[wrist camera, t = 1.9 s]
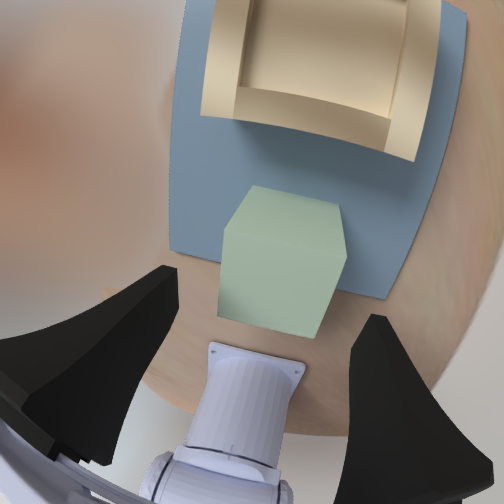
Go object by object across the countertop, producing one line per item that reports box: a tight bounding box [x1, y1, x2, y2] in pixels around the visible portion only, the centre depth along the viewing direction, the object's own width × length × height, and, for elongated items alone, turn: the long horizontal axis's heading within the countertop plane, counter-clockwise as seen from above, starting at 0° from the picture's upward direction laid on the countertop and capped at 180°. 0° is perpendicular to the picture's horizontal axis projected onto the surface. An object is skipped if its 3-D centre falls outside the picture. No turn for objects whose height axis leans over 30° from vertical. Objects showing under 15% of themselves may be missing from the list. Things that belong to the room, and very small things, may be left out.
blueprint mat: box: [169, 0, 467, 300], centre depth 12 cm, size 18×14×1 cm
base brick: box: [200, 0, 441, 162], centre depth 8 cm, size 8×8×4 cm
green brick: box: [217, 186, 347, 339], centre depth 13 cm, size 4×4×5 cm
